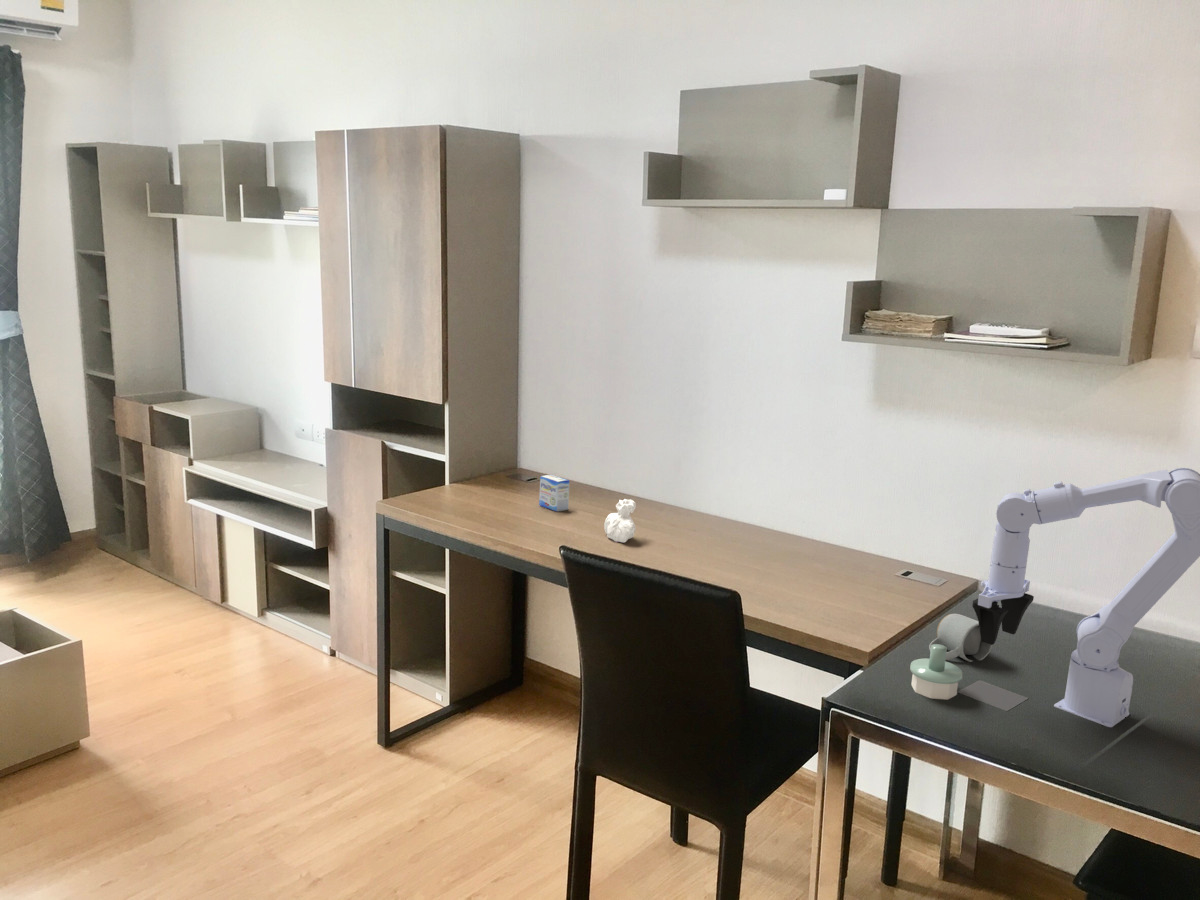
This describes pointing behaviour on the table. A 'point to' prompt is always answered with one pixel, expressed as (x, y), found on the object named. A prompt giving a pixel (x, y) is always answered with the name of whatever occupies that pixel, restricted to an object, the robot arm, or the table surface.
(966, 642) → the ceramic mug
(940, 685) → the bowl
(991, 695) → the mat
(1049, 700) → the table surface
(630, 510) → the white tied sack
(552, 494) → the medicine box
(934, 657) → the lid
